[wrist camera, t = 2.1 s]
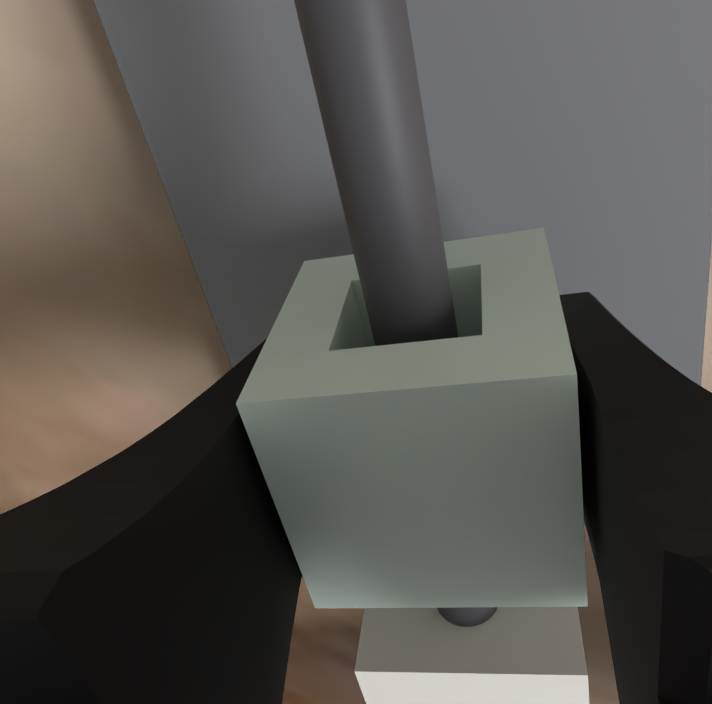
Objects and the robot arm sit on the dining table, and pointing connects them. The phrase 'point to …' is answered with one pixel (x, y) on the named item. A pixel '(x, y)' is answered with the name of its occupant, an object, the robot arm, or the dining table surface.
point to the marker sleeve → (427, 439)
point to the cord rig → (436, 207)
